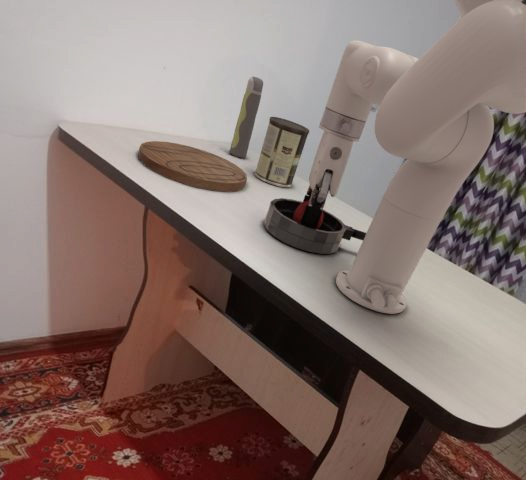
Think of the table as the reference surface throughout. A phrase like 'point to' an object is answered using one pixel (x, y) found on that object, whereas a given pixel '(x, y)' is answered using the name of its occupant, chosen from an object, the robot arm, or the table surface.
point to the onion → (300, 211)
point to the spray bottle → (247, 118)
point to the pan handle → (353, 233)
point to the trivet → (192, 166)
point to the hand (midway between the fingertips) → (307, 221)
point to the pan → (303, 228)
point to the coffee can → (281, 152)
